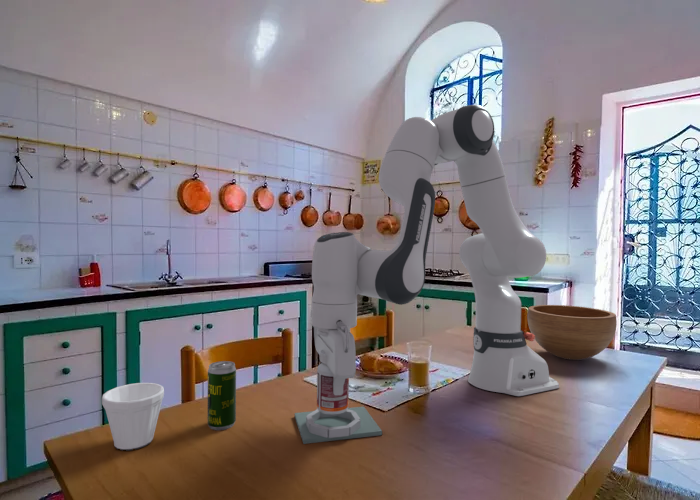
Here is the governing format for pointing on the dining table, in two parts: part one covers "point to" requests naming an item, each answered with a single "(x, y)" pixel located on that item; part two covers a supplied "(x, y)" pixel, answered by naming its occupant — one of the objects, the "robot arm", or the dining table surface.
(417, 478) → the dining table surface
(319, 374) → the pill bottle
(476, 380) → the robot arm
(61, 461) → the dining table surface
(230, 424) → the green soda can
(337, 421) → the collar board
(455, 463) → the dining table surface
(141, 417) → the cup
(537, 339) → the bowl
